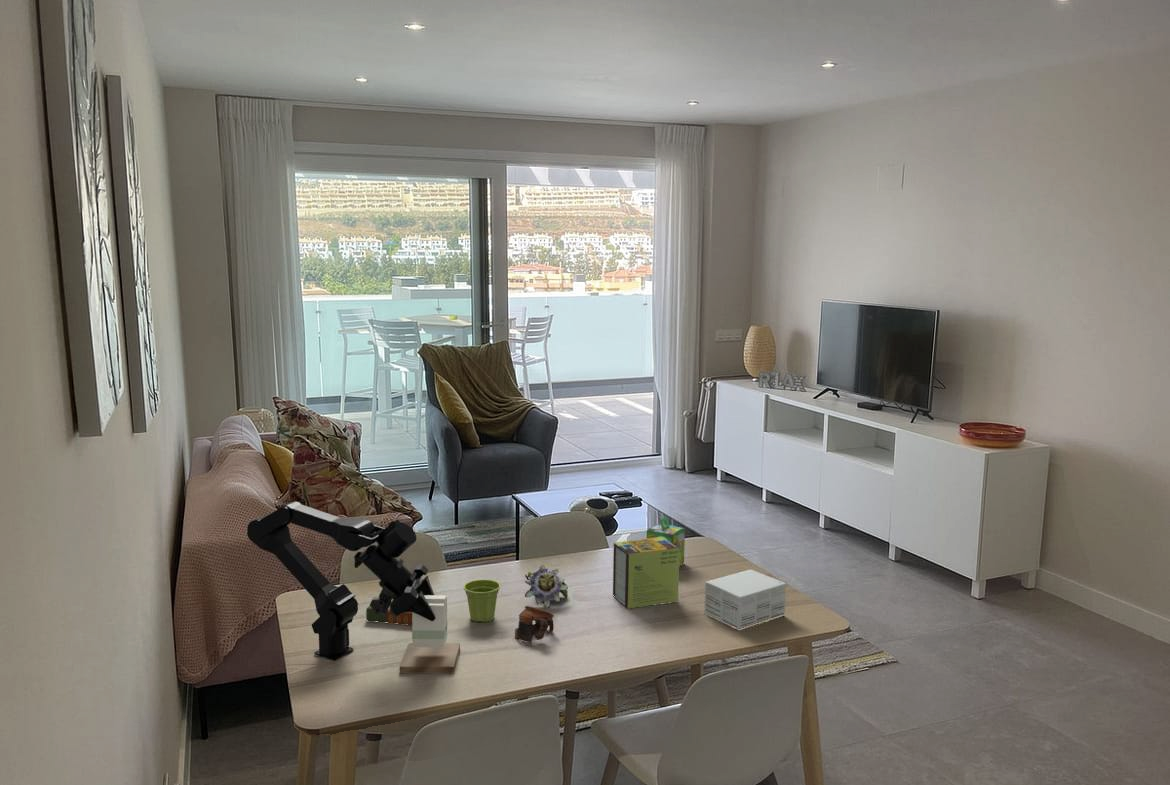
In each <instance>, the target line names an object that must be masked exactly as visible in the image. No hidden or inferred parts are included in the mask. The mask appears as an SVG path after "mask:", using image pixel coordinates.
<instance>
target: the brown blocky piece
mask: <svg viewBox="0 0 1170 785" xmlns="http://www.w3.org/2000/svg"><path fill="white" fill-rule="evenodd" d="M553 618H554V614H553V613H551V612H550V611H546V610H544V609H542V608H537V607H534V606H528V605H526V606H525V607H524V610H523V611H522V612H520V613H519V615H518V619H519V620H518V626H517V627H515V629H514V638H515V639H519V640H520V641H523V642H527V643H532V642H533V638H535V639H536V640H543V639H544V637H545V635H546V633H547V631H549V632H550V633H552V632H553V631H554V628H555V627H554V626H555V624H554V620H553ZM533 622H535V623H533ZM548 628H549V630H548Z"/></svg>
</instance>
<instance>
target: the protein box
mask: <svg viewBox="0 0 1170 785" xmlns="http://www.w3.org/2000/svg"><path fill="white" fill-rule="evenodd" d="M679 552H680V548H679V547H678V546H676V545H675V544H673V543H672V542H670V541H668V540H667V539H665V538H664V537H656V538H648V539H647V538H641V539H634V540H623V541H617V542H613V565H612V568H613V569H612V571H613V572H612V574H613V577H612V596H613V595H614V596H615V597H616V598H617V599H618V600H619V601H620V602H621V603H622V604H623V607H624V608H626V609H627V610H631V609H630V608H632V609H636V608H635V607H640V608H643V607H642V606H647V607H649V606H648V605H654V604H661V603H668V604H670V603H669V602H675V603H677V602H676V601H678V602H679V585H680V584H679V580H680V566H679ZM614 596H613V597H614ZM615 597H614V598H615ZM616 598H615V599H616ZM617 599H616V600H617ZM618 600H617V601H618ZM619 601H618V602H619ZM620 602H619V603H620ZM621 603H620V604H621ZM622 604H621V605H622ZM661 605H662V604H661ZM654 606H655V605H654Z"/></svg>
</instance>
